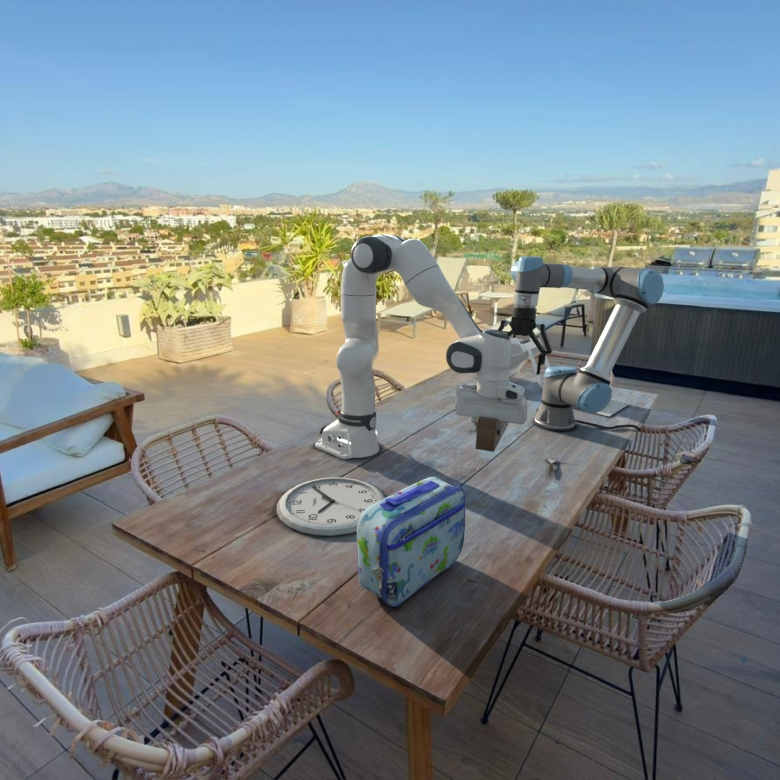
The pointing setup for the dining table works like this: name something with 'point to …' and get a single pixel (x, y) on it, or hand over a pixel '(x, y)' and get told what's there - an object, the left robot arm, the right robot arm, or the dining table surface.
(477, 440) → the bar
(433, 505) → the lunch box
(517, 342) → the white plastic object
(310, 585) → the dining table surface
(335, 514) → the wall clock
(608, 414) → the invitation card
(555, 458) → the fork
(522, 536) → the dining table surface
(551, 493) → the dining table surface
